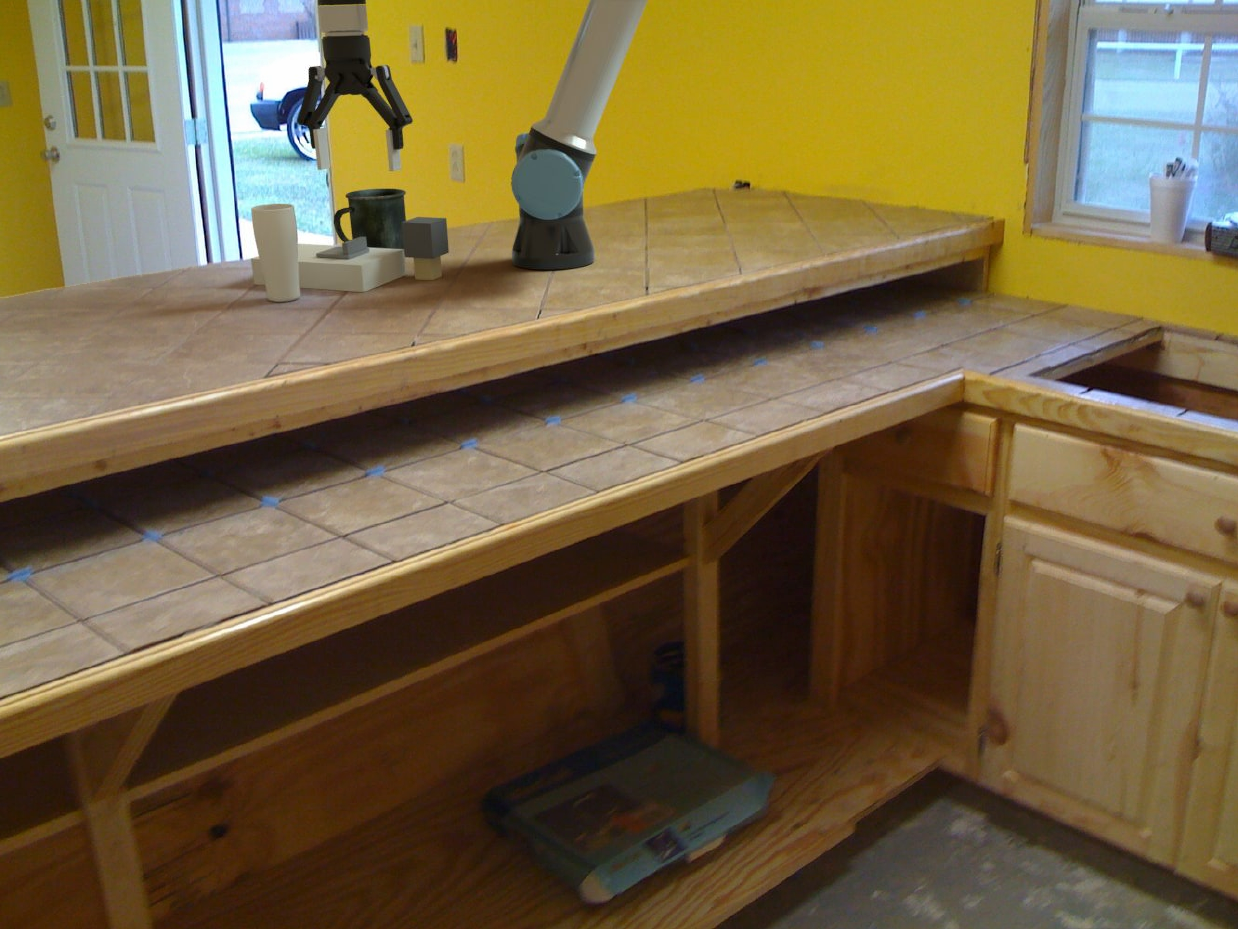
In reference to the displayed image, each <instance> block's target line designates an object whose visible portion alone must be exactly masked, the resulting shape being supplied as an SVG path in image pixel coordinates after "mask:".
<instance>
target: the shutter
mask: <svg viewBox="0 0 1238 929" xmlns="http://www.w3.org/2000/svg"><path fill="white" fill-rule="evenodd" d="M336 246H337V247H334V248H331V249H328V250H325V251H322V252H319V253H316V257H325V258H342V259H350V258H353V257H356V256H359V255H361V254H364V253H367V252H369V248H367V242H366V237H358V238H355V239H352V238H351V239H349V241H346V242H343V241H342V242H341V246H342V247H338V246H339V245H336Z"/></svg>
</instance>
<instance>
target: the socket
mask: <svg viewBox="0 0 1238 929" xmlns="http://www.w3.org/2000/svg"><path fill="white" fill-rule="evenodd" d="M337 246H338V247H342V245H331V244H329V245H328V244H314V243H313V244H312V243H298V264H299V286H300V289H313V290H315V289H316V290H326V291H327V290H328V291H342V292H343V291H345V292H356V293H365V292H368V291H370V290H372V289H375V288H377V287H380V286H382V285H385V284H387V283H390V282H393V281H395V280H397V279H399V278H402V277H404V276H407V265H406V264H407V263H406V257H404V249H387V248H369V247H367V248H369V252H367V253H364V254H361V255H359V256H356V257H353V258H350V259H342V258H325V257H316V253H319V252H322V251H325V250H328V249H331V248H334V247H337ZM250 262H251V269H252V278H253V284H254V285H256V286H257V285H259V286H265V282H264V277H263V273H262V268H261V263H260V259H259V255H258V256H255V257H253V258H250Z"/></svg>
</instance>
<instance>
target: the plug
mask: <svg viewBox="0 0 1238 929" xmlns="http://www.w3.org/2000/svg"><path fill="white" fill-rule="evenodd" d="M447 224H448V223H447V217H428V216H427V217H426V216H416V217H414V218H410V219H408V220H407V219H406V221H404V222H402V234H403V245H404V257H405V258H408V259H409V258H410V259H413V269H414V280H423V281H435V280H436V279H439V278H441V277H443V273H442V272H443V271H442V261H441V257H442V256H444V255H446V254H448V253H450V251H449V239H448V238H449V236H448V225H447Z"/></svg>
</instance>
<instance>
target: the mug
mask: <svg viewBox="0 0 1238 929" xmlns="http://www.w3.org/2000/svg"><path fill="white" fill-rule="evenodd" d="M406 194H407V192H406V191H405V190H404V189H401V188H369V189H367V188H366V189H359V190H354V191H351V192H350V191H349V192H346V194H345V198H347V201H348V207H343V208H341V209H338V210H337V211H336V212H335V213H334V215H333V227H334V229H335V232H336V235H337V236H338V238H339V240H341V241H342V243H343V242H346V241H349V240H350V239H349V238H348V237H347V236H346V235H345V232H344V231H343V228H342V225H341V218H342V217H343V215H345V214H347V213H349V221H350V229H351V230H350V231H351V232H350V233H351V240H352V239H355V238H358V237H366V242H367V247H369V248H387V249H404V245H403V234H402V222H404V221H407V218H406V206H405V195H406Z"/></svg>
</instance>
